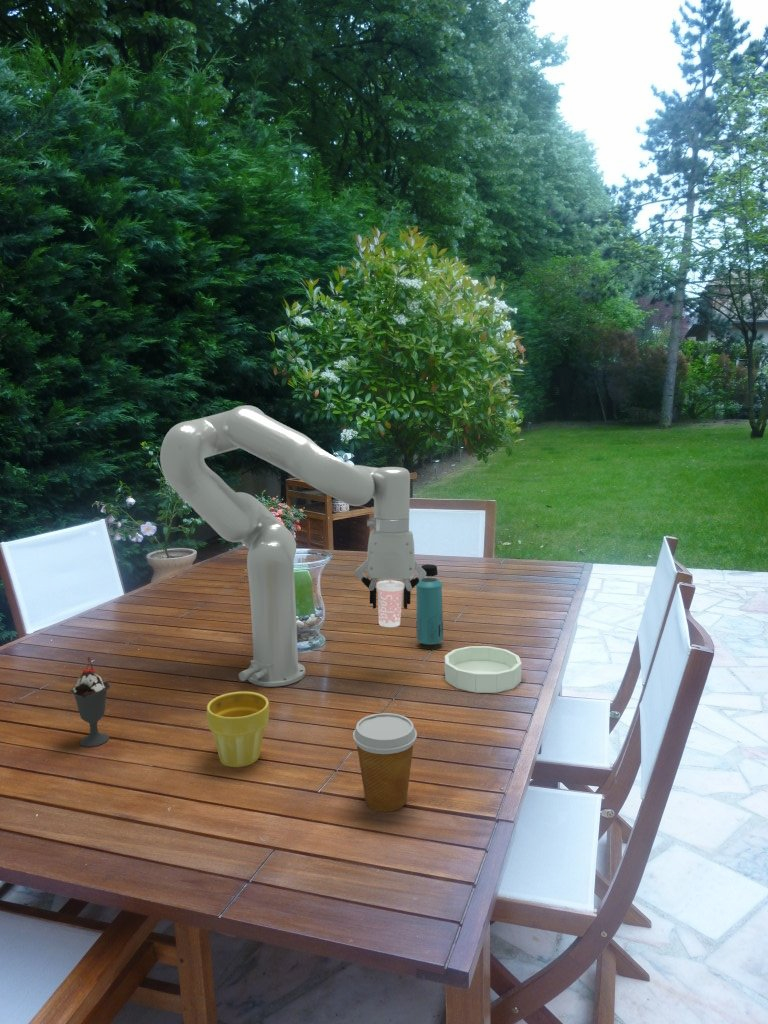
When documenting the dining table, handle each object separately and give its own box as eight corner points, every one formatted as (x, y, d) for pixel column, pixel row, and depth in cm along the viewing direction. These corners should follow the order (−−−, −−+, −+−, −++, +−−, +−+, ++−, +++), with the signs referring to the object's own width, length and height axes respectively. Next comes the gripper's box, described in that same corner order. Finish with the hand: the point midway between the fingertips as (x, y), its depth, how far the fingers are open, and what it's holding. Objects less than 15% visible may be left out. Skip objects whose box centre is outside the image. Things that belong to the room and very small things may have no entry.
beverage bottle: (441, 651, 168) (441, 569, 165) (413, 649, 170) (413, 568, 166) (444, 641, 175) (444, 562, 171) (418, 640, 176) (417, 561, 173)
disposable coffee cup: (414, 781, 112) (414, 710, 110) (419, 817, 103) (419, 740, 101) (354, 783, 112) (353, 712, 110) (354, 819, 103) (352, 742, 101)
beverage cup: (369, 623, 155) (370, 560, 152) (389, 617, 159) (390, 556, 157) (389, 630, 150) (391, 566, 148) (409, 624, 155) (410, 561, 152)
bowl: (502, 698, 142) (502, 680, 141) (431, 682, 150) (431, 664, 150) (531, 671, 155) (531, 654, 155) (465, 658, 164) (465, 641, 163)
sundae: (102, 728, 132) (95, 651, 130) (121, 738, 128) (115, 659, 126) (67, 741, 127) (59, 662, 125) (86, 753, 123) (79, 671, 121)
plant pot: (283, 751, 123) (281, 698, 121) (243, 779, 114) (240, 722, 112) (238, 737, 128) (235, 686, 126) (196, 763, 119) (192, 709, 117)
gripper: (350, 528, 147) (349, 611, 150) (433, 529, 147) (430, 612, 150) (351, 521, 155) (350, 601, 158) (430, 522, 155) (428, 602, 158)
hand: (389, 606), depth 154 cm, fingers closed on beverage cup, 6 cm apart
